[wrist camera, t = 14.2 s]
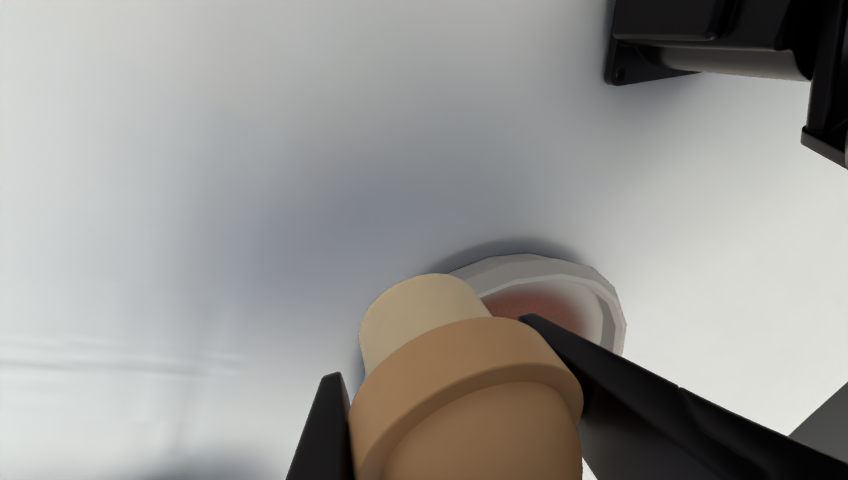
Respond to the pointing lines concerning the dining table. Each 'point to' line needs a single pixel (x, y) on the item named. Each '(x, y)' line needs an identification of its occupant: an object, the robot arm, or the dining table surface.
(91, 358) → the dining table surface
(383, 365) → the tan mushroom
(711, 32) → the robot arm
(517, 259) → the frying pan
